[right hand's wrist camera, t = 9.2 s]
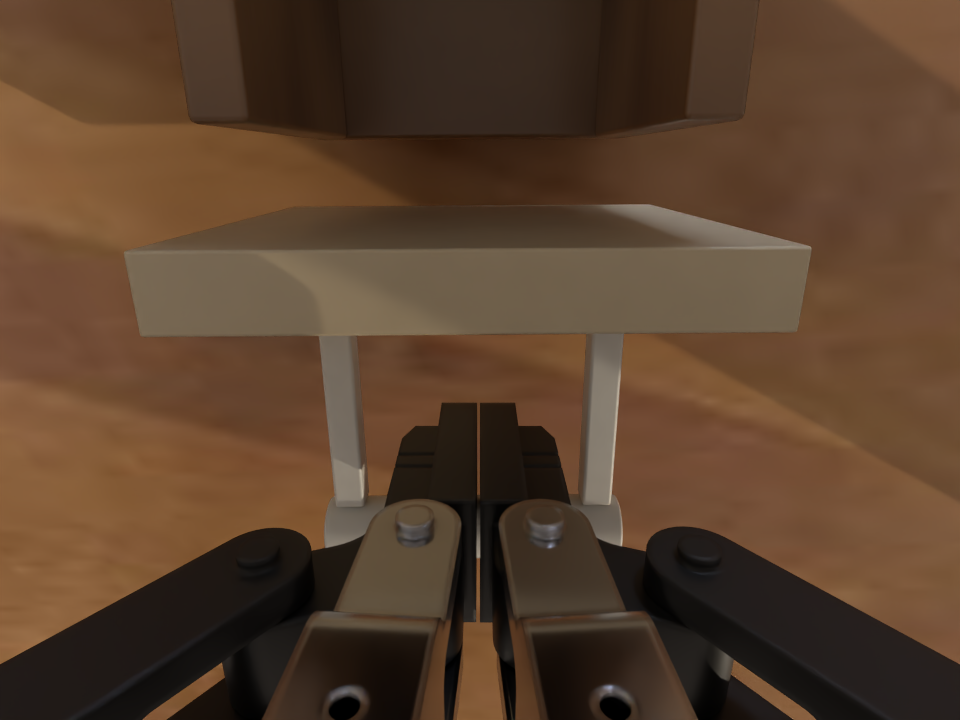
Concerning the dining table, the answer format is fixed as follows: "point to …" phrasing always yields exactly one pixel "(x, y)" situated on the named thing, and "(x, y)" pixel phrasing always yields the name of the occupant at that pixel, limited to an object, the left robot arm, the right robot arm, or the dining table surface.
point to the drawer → (466, 229)
